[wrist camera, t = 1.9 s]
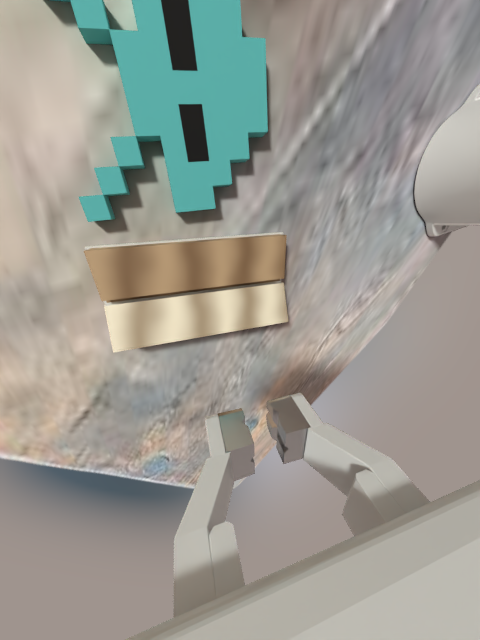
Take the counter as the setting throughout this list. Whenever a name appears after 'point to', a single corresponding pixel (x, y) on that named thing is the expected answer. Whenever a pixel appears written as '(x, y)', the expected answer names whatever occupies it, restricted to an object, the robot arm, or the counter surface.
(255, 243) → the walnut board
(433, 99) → the counter surface
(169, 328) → the birch plank
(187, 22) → the alien figure
